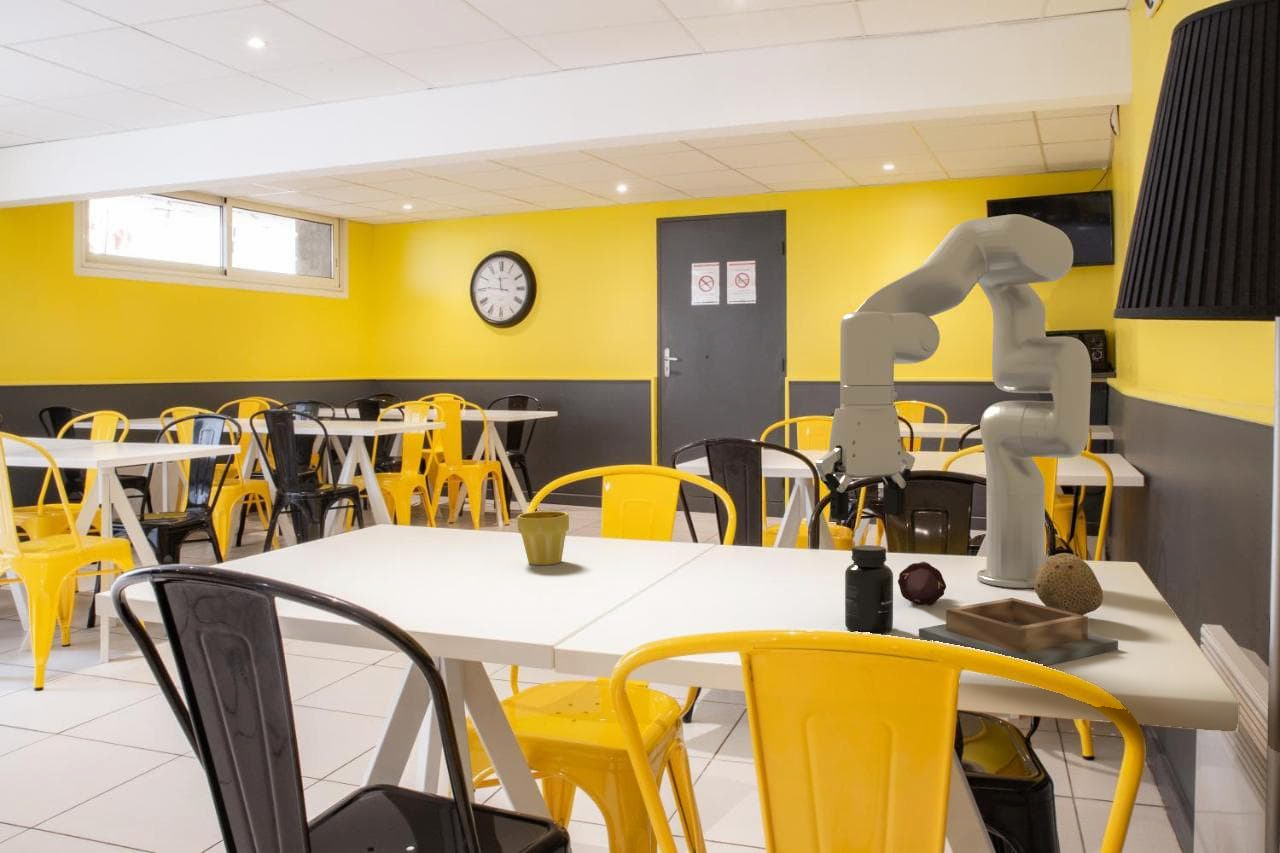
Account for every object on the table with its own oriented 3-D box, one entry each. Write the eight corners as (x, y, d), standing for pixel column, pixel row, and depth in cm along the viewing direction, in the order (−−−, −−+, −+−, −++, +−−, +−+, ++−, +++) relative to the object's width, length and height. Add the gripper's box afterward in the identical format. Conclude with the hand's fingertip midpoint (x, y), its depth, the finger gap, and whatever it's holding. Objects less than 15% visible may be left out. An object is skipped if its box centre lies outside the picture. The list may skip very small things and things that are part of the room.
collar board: (1010, 619, 146) (1010, 592, 145) (1117, 649, 130) (1118, 618, 129) (918, 637, 138) (918, 607, 137) (1021, 671, 122) (1021, 637, 121)
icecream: (953, 575, 148) (948, 564, 163) (904, 561, 150) (903, 551, 165) (941, 619, 148) (937, 604, 163) (892, 604, 150) (893, 591, 165)
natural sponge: (1022, 613, 149) (1022, 548, 149) (1077, 610, 150) (1078, 546, 150) (1052, 628, 140) (1052, 560, 140) (1111, 626, 141) (1112, 557, 141)
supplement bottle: (894, 636, 138) (894, 552, 138) (845, 634, 140) (844, 551, 139) (892, 623, 145) (891, 543, 144) (845, 622, 146) (844, 543, 146)
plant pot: (509, 565, 194) (507, 517, 194) (533, 556, 204) (531, 509, 203) (556, 568, 191) (555, 519, 190) (578, 558, 200) (577, 511, 200)
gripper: (895, 397, 148) (894, 510, 148) (802, 399, 140) (801, 517, 141) (931, 398, 141) (930, 516, 142) (835, 399, 133) (834, 524, 134)
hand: (866, 516), depth 141 cm, fingers open, 9 cm apart
